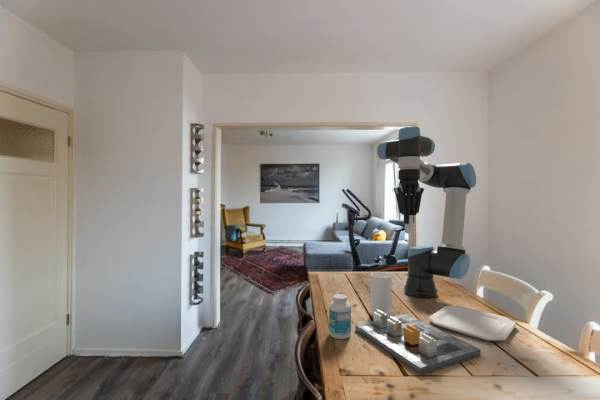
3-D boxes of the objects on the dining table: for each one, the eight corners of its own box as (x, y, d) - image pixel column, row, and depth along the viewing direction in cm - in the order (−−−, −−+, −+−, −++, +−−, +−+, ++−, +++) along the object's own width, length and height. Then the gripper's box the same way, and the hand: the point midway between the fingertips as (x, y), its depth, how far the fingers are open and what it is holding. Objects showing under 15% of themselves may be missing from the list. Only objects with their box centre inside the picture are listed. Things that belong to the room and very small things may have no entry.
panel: (406, 318, 117) (406, 300, 117) (480, 355, 90) (480, 331, 90) (355, 330, 108) (355, 310, 107) (420, 375, 80) (420, 348, 80)
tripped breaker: (411, 338, 96) (411, 323, 96) (419, 343, 93) (419, 327, 93) (403, 340, 95) (403, 324, 95) (412, 345, 92) (412, 329, 92)
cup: (392, 319, 117) (392, 278, 117) (370, 317, 119) (370, 277, 119) (390, 311, 125) (390, 272, 125) (370, 309, 127) (370, 271, 127)
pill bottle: (327, 330, 107) (327, 292, 107) (347, 330, 108) (347, 292, 108) (331, 340, 100) (331, 300, 100) (353, 339, 100) (353, 299, 100)
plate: (448, 308, 130) (448, 303, 130) (518, 325, 112) (518, 319, 112) (424, 325, 112) (424, 319, 112) (502, 349, 95) (502, 342, 94)
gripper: (414, 170, 118) (414, 230, 118) (388, 169, 113) (388, 232, 113) (430, 168, 111) (429, 232, 111) (402, 167, 106) (402, 234, 106)
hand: (408, 232), depth 112 cm, fingers closed
